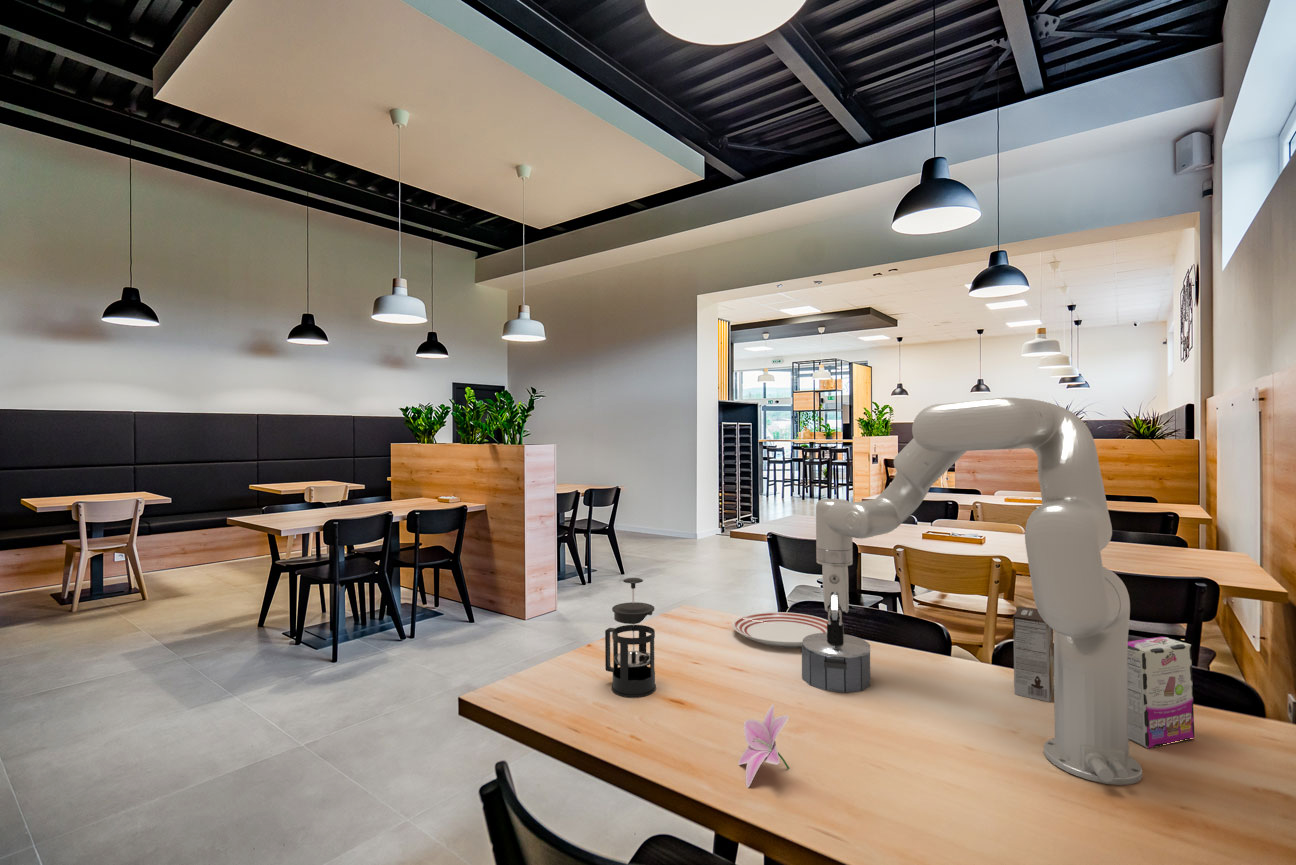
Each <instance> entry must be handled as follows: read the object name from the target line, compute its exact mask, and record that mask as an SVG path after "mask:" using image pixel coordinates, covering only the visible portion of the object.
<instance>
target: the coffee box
mask: <svg viewBox="0 0 1296 865" xmlns="http://www.w3.org/2000/svg"><path fill="white" fill-rule="evenodd" d="M1012 619H1013V620H1012V624H1013V625H1012V626H1013V629H1012V630H1013V686H1014V687H1013V688H1014V695H1015V696H1020V697H1025V698H1029V699H1032V700H1033V699H1034V700H1040V701H1043V702H1047V703H1050V702H1051V701H1052V697H1053V695H1054V694H1053V693H1054V630H1053V629H1052V628H1051V627H1050V626H1048V625H1047V624H1046V623H1045V621H1044V620H1043V619H1042V617H1041V616H1040V614H1039V612H1038V610H1037V608H1032V607H1025V606H1017V608H1016V610H1015V613H1014V615H1013V616H1012Z"/></svg>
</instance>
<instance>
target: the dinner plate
mask: <svg viewBox="0 0 1296 865" xmlns="http://www.w3.org/2000/svg"><path fill="white" fill-rule="evenodd" d="M743 618H746V619H743ZM747 619H752V620H758V621H763V622H756V621H752V620H747ZM764 622H767V623H764ZM769 623H775V624H769ZM827 624H828V619H825V618H822V617H819V616H815V615H810V614H805V613H796V612H787V611H786V612H785V611H784V612H783V611H782V612H781V611H776V612H775V611H773V612H770V611H769V612H758V613H751V614H747V615H743V616H740V617H738V618H736V619H735V620H734V621H733V622H732V629H733V630H735V631H736V632H737V633H739V634H740V635H741V636H743V637H745V638H747V639H749V640H752V641H754V642H757V643H760V644H763V645H766V646H769V647H777V648H783V649H784V648H788V649H789V648H791V649H797V648H798V649H799V648H802V642H803V639H804V637H806V636H808V635H811V634H816V633H827Z"/></svg>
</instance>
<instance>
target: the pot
mask: <svg viewBox="0 0 1296 865" xmlns="http://www.w3.org/2000/svg"><path fill="white" fill-rule="evenodd" d="M801 679H802V680H803V681H804V682H805V683H807V684H808V685H809V686H811V687H814V688H817V689H820V690H822V691H825V692H826V691H827V692H833V693H834V692H835V693H840V694H841V693H842V694H844V693H845V694H849V693H858V692H863V691H864V690H867V689H868V688H870V687H871V652H870V653H869V654H867V655H866V656H863V657H859V658H847V659H845V658H832V657H826V656H821V655H818V654H815V653H812V652H810V651H808V650H806V649H805V648H804V647H803V642H802V647H801Z"/></svg>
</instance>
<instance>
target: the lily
mask: <svg viewBox="0 0 1296 865" xmlns="http://www.w3.org/2000/svg"><path fill="white" fill-rule="evenodd" d="M774 716H775V704H774V703H772V704H771V705H770V707H769V708H768V710H767V712H766V714H765V716H764V717H763V720H762V721H761V720H757V719H751V718H750V719H749V718H748V719H745V721H744V722H743V734H744V738H745V742H746V743H747V747H746V749H745V750H744V751H743V752H742V755H741V756H740V758H739V760H738V762H737V764H738V765H739V766H741V765H744V764H746V767H745V785H746V788H749V787H750V786H751V784H752V782H753V779H755V776H756V774H757V772H758V770H759V769H760V767H761V765H762V763H763V762H765V763H768V764H770V765H776V766H777V765H779V764H780V763H781V762H780V759H781V760H782V762H783V764H784V765H785V767H786V769H787V770H790V767H789V765H788V764H787V761H786V760H785V759H784V757H783V756H782V755H781V753H780V752H779V751H778V749H777V748H778V747H777V743H776V739H777V738H778V736H779V733H780V732H781V731H782V729H783V728H784V727H785V725H786V723H787V722H788V720H789V718H790V716H789V714H784V715H779V716H776V717H774Z"/></svg>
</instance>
